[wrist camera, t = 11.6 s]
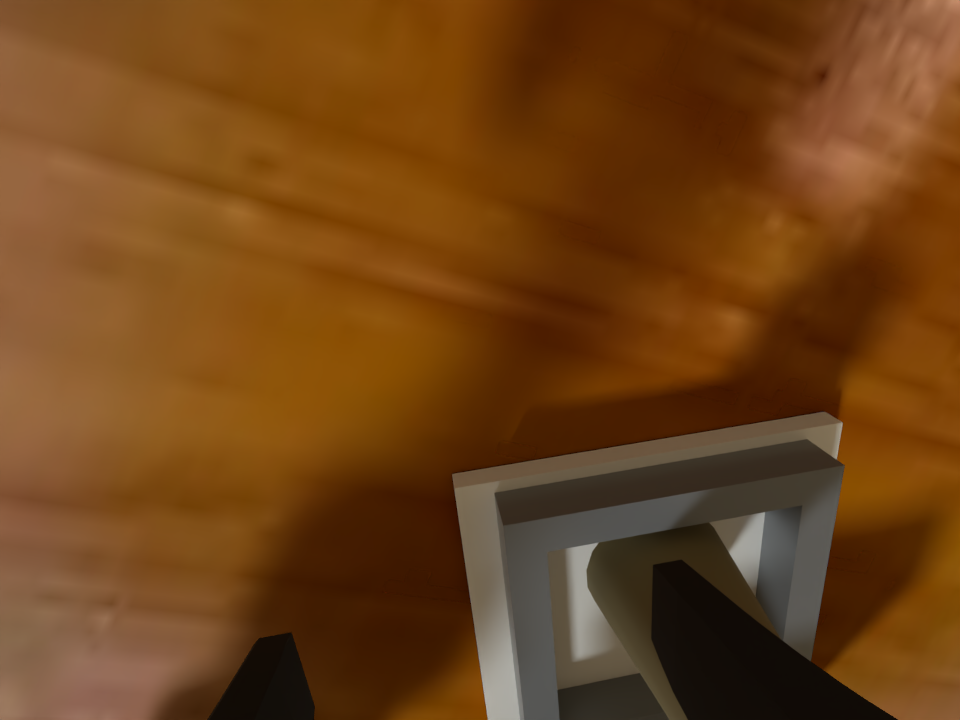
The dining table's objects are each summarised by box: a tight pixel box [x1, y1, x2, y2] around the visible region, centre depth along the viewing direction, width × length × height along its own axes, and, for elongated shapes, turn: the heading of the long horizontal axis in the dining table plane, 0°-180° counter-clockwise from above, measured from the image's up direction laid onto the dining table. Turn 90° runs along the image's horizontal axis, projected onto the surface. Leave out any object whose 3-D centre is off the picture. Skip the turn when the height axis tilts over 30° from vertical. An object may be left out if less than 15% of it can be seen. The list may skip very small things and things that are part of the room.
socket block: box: [452, 412, 845, 720], centre depth 21 cm, size 16×19×10 cm
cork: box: [586, 522, 781, 720], centre depth 18 cm, size 6×6×11 cm
